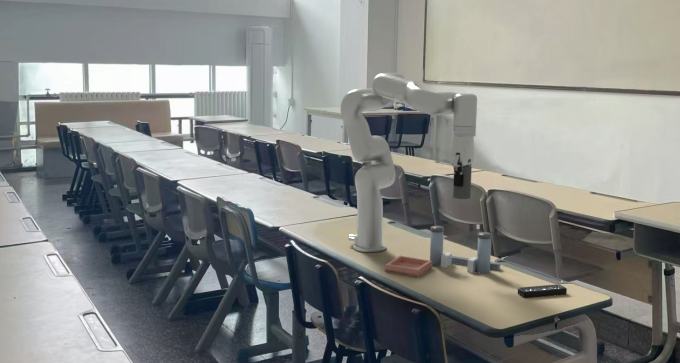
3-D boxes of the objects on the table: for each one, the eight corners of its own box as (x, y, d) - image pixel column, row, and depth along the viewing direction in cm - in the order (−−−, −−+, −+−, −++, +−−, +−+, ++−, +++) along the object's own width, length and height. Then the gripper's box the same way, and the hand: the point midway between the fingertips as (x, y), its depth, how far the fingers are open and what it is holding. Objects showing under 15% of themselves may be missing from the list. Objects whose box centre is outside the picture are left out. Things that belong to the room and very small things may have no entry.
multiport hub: (516, 294, 209) (517, 287, 209) (559, 291, 213) (559, 283, 212) (524, 299, 205) (524, 292, 204) (567, 295, 208) (567, 288, 208)
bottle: (470, 199, 227) (472, 154, 224) (452, 198, 228) (454, 154, 225) (470, 196, 232) (472, 152, 230) (453, 195, 234) (454, 151, 231)
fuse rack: (422, 264, 238) (423, 227, 236) (432, 258, 246) (433, 222, 243) (492, 275, 226) (494, 236, 224) (500, 268, 233) (501, 231, 231)
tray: (385, 271, 230) (385, 264, 229) (400, 262, 240) (400, 255, 240) (417, 277, 224) (418, 270, 223) (431, 267, 234) (432, 260, 234)
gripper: (462, 128, 235) (460, 179, 239) (443, 132, 221) (441, 187, 224) (483, 129, 232) (481, 181, 235) (466, 134, 217) (463, 189, 220)
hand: (461, 184), depth 229 cm, fingers closed on bottle, 5 cm apart
